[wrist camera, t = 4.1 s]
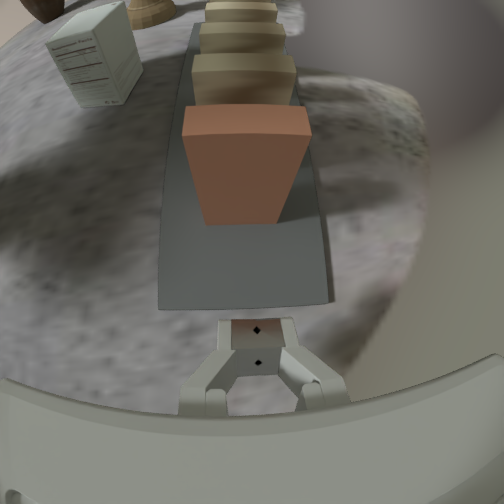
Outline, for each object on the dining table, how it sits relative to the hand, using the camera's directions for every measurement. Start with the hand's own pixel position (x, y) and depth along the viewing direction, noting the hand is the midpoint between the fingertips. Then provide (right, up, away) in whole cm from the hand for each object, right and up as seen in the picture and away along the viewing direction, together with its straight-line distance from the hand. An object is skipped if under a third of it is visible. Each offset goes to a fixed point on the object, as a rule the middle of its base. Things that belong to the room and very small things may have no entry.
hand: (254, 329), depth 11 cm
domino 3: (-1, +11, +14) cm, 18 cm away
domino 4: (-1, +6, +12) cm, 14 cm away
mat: (-2, +20, +17) cm, 26 cm away
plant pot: (-61, +75, +28) cm, 101 cm away
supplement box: (-19, +25, +17) cm, 36 cm away
